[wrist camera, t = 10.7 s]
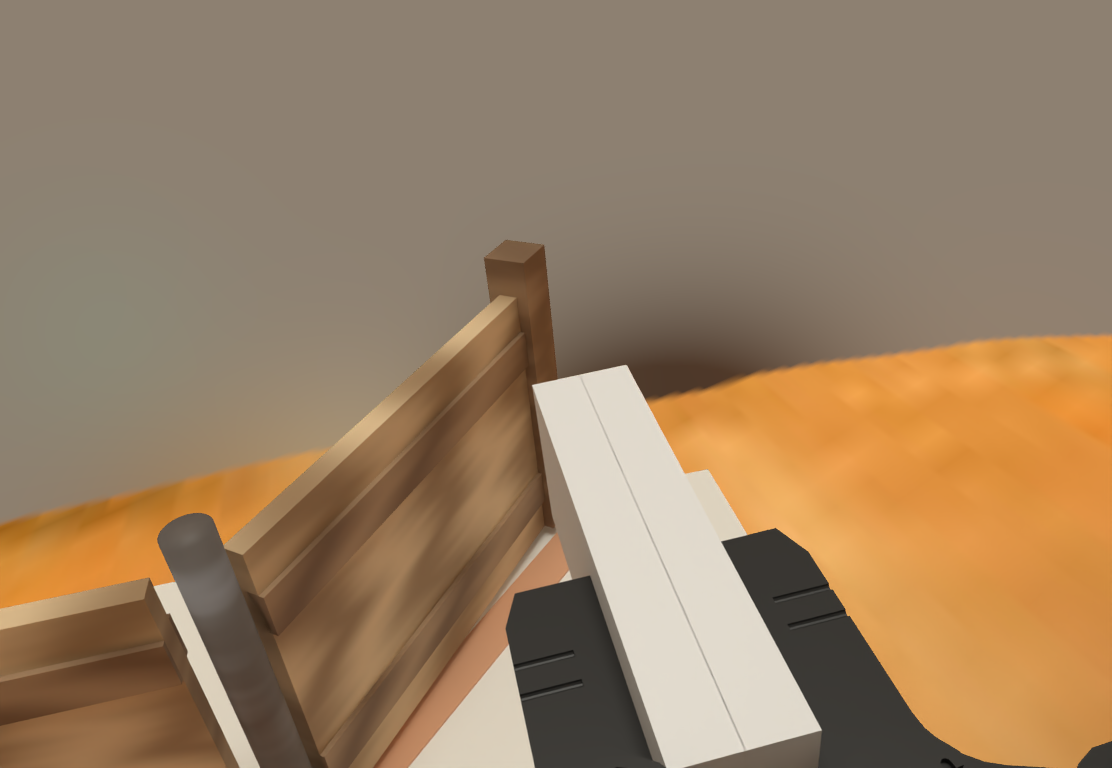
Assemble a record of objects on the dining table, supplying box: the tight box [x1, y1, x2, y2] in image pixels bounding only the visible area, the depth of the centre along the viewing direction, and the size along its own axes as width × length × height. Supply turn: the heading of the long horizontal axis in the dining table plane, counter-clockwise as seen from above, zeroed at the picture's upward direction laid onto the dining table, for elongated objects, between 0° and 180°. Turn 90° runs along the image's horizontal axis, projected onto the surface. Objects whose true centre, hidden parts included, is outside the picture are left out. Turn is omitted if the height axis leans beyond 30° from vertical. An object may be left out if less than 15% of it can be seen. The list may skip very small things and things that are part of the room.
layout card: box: [154, 469, 747, 768], centre depth 35 cm, size 36×20×1 cm, turn 102°
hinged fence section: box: [157, 240, 558, 768], centre depth 33 cm, size 19×2×14 cm, turn 154°
